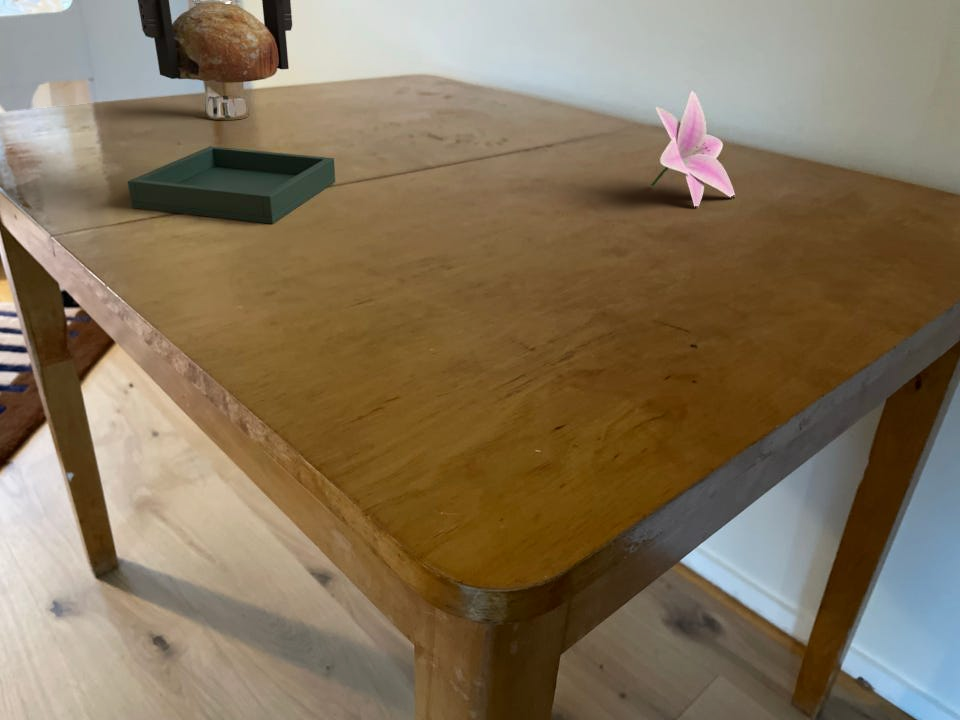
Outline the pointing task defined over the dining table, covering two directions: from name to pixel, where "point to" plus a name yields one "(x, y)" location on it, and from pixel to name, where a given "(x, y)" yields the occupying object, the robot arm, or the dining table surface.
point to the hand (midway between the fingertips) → (226, 71)
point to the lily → (693, 151)
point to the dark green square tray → (233, 184)
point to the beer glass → (223, 89)
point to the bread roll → (223, 44)
